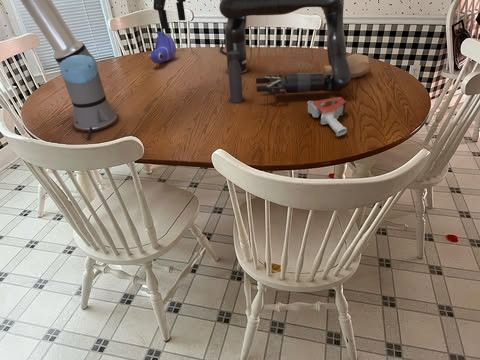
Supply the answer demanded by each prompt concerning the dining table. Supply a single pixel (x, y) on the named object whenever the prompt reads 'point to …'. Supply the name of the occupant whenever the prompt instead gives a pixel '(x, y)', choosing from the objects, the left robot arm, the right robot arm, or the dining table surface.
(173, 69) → the dining table surface
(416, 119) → the dining table surface
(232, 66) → the bottle
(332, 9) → the right robot arm
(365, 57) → the squash
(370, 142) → the dining table surface
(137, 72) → the dining table surface
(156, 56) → the toy
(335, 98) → the tape dispenser
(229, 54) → the cap
